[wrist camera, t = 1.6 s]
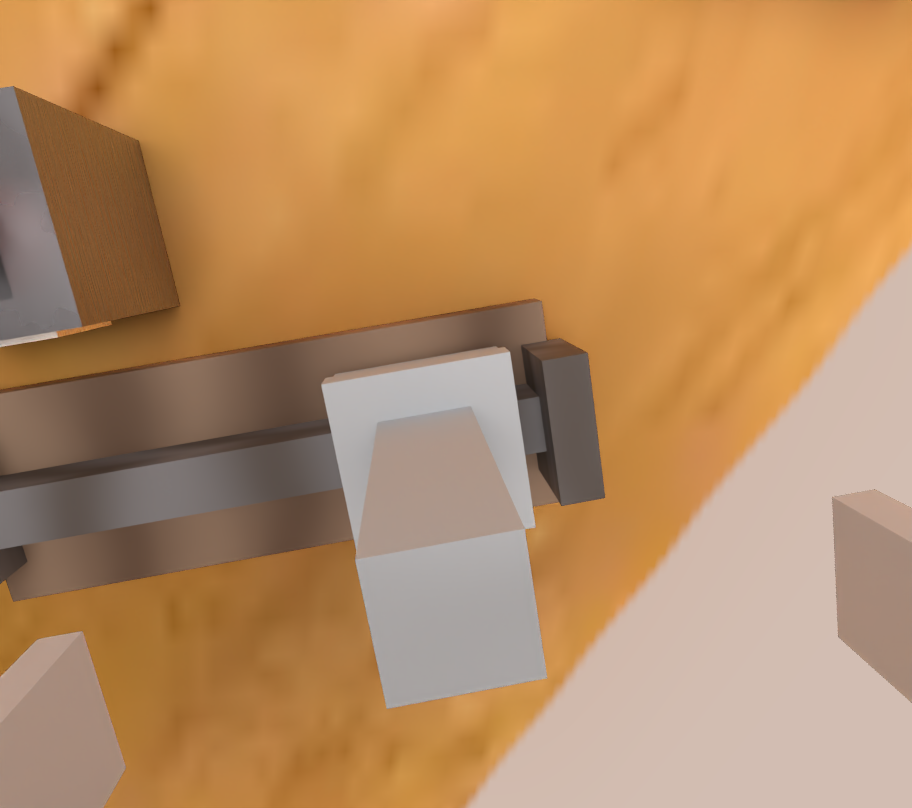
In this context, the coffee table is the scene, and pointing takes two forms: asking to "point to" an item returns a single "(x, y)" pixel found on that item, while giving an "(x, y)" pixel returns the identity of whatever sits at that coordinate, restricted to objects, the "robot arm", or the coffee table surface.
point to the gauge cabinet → (73, 225)
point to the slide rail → (245, 449)
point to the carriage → (439, 521)
